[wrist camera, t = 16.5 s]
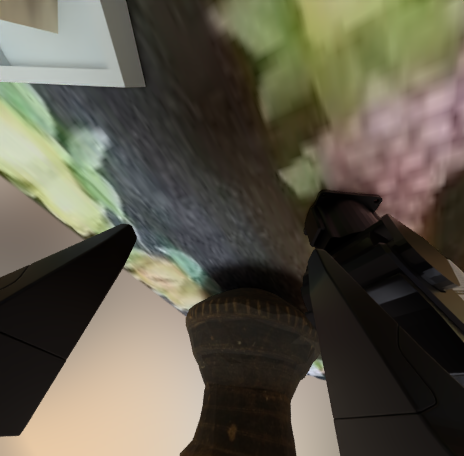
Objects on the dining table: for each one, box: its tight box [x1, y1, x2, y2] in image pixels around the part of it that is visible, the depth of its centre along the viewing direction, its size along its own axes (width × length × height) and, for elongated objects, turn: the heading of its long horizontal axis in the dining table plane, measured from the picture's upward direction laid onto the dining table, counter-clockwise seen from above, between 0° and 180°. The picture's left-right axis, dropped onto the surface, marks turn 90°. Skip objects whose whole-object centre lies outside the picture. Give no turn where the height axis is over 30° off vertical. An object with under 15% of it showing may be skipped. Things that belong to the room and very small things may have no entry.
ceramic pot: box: [180, 288, 321, 456], centre depth 28 cm, size 24×24×22 cm
